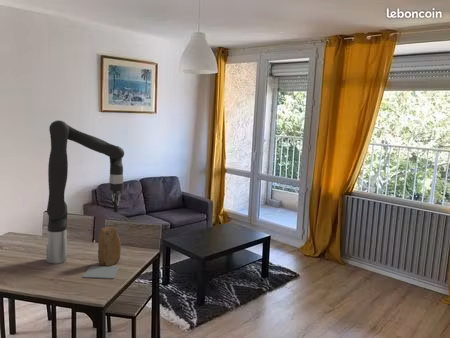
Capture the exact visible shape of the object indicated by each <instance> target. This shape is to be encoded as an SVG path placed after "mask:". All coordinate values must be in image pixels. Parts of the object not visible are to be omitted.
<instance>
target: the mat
mask: <svg viewBox="0 0 450 338" xmlns="http://www.w3.org/2000/svg"><path fill="white" fill-rule="evenodd" d="M120 269H121V267H120V266H103V265H101V266H100V265H99V266H98V265H91V266H89V268H88V269H87V270H86V272H85V273H84V275H82V278H83V279H107V280H110V279H111V280H113V279H115V278H116V276H117V274H118V272H119V271H120Z"/></svg>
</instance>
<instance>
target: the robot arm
mask: <svg viewBox="0 0 450 338" xmlns="http://www.w3.org/2000/svg"><path fill="white" fill-rule="evenodd" d="M48 128H49V129H48V130H49V135H50V152H49V158H48V165H47V166H48V167H47V168H48V171H47V172H48V173H47V174H48V200H47V206H46V207H47V208H46V213H47V216H48V222H47V244H46V245H45V246H46V263H50V264H61V263H64V262H66V261H67V260H68V259H67V258H68V254H67V253H68V252H67V251H68V249H67V248H68V247H67V246H68V242H67V241H68V239H67V238H68V236H67V235H68V233H67V232H68V227H67V225H68V205H67V202H66V201H65V191H66V187H67V181H68V173H69V172H68V171H69V170H68V168H69V167H68V166H69V164H68V162H69V161H68V152H67V149H68V147H67V146H68V140H69V141H72V142H75V143H77V144H79V145H81V146H83V147H85V148H87V149H89V150H91V151H94V152H97V153H99V154H103V155H105V156H107V157H109V177H108V180H109V182H108V183H109V184H108V185H109V187H108V190H109V191H111V192H112V194H111V199H110V201H111V204H112V206H113V213H118V212H119V205H120V201H121V196H122V194H121V193H120V192H122V191H123V190H124V166H123V158H124V156H125V151H124V149H123V148H122V147H120V146H118V145H114V144H111V143H109V142H107V141H105V140H103V139H100V137H99V138H98V137H96V136H93V135H90V134H87V133H85V132H82V131H80V130H78V129H76V128H73V126H71V125H69V124H67V123H66V122H65V121H63V120H58V119H57V120H54V121H52V122H51V124H49V127H48Z"/></svg>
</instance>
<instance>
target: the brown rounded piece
mask: <svg viewBox="0 0 450 338" xmlns="http://www.w3.org/2000/svg"><path fill="white" fill-rule="evenodd" d="M117 231H118V228H117V227H116V226H112V225H111V226H106V227H101V228H99V235H98V242H97V243H98V244H97V245H98V249H97V258H98V262H99V264H100V265H101V266H103V267H112V266H114V265H115V264H118V263H119V261H120V259H121V249H122V248H121V247H122V244H121V239H120V237H119V234H118V232H117Z"/></svg>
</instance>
